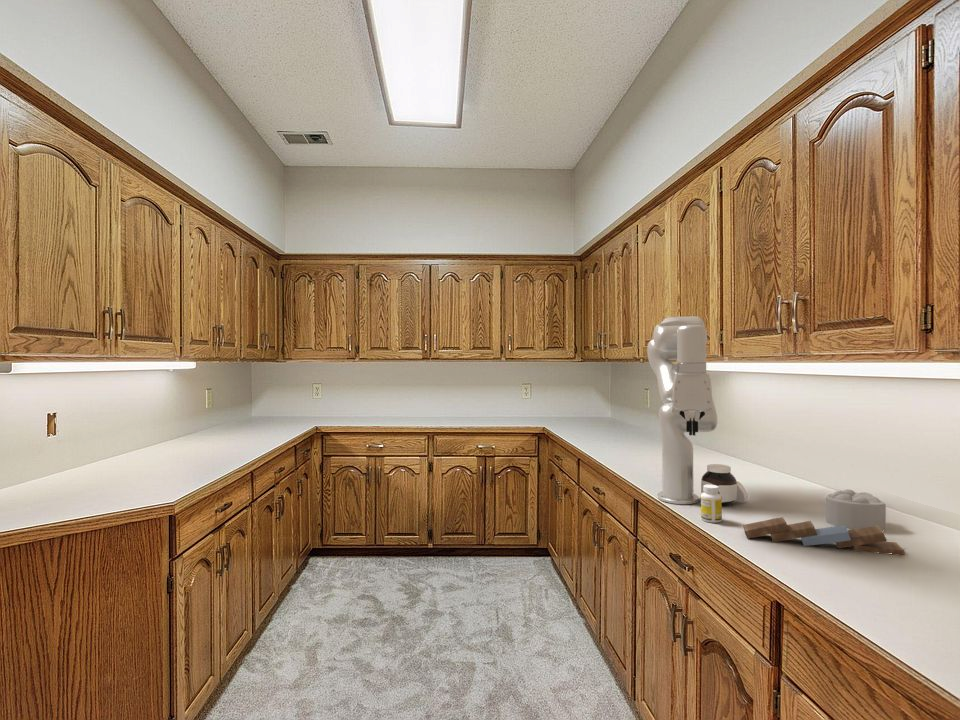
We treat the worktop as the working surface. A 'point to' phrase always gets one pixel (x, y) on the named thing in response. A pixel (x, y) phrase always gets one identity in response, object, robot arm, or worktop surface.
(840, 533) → the blue domino
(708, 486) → the supplement bottle
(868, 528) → the domino
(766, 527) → the domino
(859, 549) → the domino
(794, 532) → the domino
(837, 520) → the lumpy-topped squat cylinder
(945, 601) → the worktop surface
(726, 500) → the spread jar
